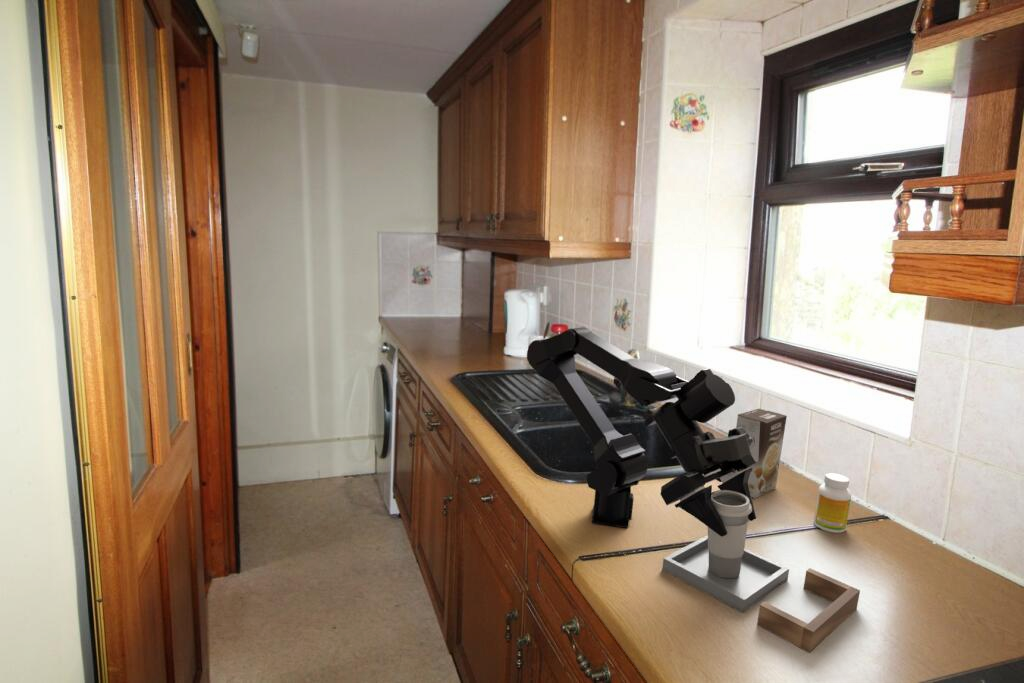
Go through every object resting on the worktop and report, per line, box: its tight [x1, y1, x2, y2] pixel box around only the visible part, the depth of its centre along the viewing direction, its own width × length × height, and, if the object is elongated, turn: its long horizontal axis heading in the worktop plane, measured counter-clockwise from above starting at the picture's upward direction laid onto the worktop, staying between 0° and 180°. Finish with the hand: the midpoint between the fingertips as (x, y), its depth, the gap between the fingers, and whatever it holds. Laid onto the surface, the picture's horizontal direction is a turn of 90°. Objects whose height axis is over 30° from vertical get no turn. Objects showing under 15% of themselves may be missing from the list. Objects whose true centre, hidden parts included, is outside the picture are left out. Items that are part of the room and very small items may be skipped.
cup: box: [707, 489, 752, 578], centre depth 97 cm, size 7×7×12 cm
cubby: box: [756, 568, 861, 654], centre depth 89 cm, size 7×15×3 cm, turn 131°
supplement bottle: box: [813, 472, 852, 534], centre depth 116 cm, size 5×5×10 cm
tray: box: [662, 534, 790, 613], centre depth 98 cm, size 14×14×2 cm
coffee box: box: [735, 408, 787, 499], centre depth 131 cm, size 9×6×16 cm
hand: (739, 527), depth 96 cm, fingers open, 8 cm apart
